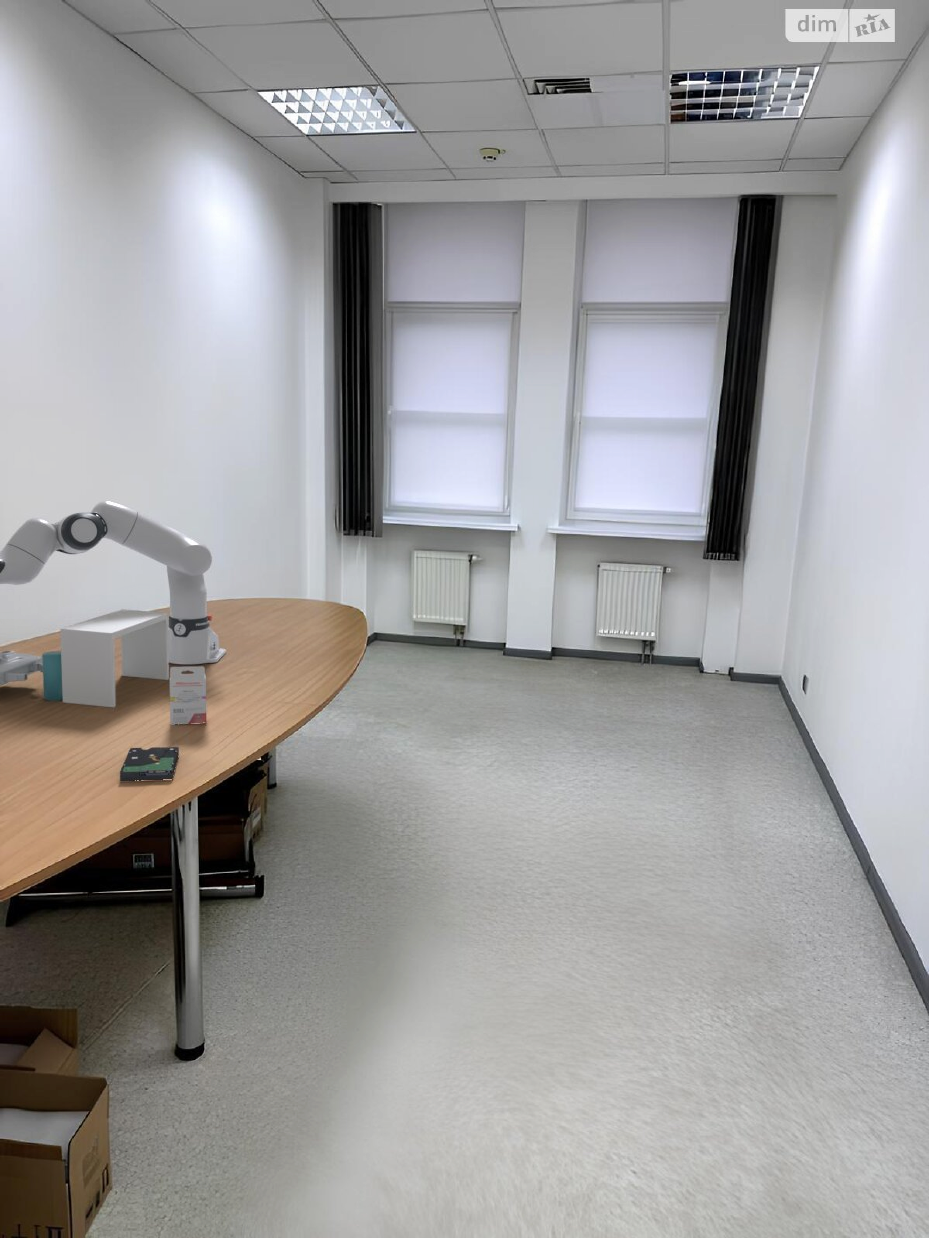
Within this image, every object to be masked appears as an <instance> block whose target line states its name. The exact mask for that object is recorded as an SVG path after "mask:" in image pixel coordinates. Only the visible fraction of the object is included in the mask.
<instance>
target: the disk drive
mask: <svg viewBox="0 0 929 1238" xmlns="http://www.w3.org/2000/svg"><path fill="white" fill-rule="evenodd" d="M179 748H180V747H179V746H169V747H168V746H166V747H165V746H164V747H162V746H161V747H160V746H159V747H158V746H157V747H155V746H154V747H149V748H148V749H144V748H142V747H130V749H129V750H128V753H127V755H126V757H125V760H124V762H123V764H122V766H121V768H120V771H119V782H120V781H135V780H136V781H137V780H139V781H141V780H163V779H172V778H173V779H174V777H173V775H174V776H175V772H174V770H175V771H176V768H177V764H178V761H177V760H179V757H178V756H179V755H180V749H179ZM176 763H177V764H176ZM175 767H176V768H175ZM173 779H172V780H173ZM141 782H142V781H141Z"/></svg>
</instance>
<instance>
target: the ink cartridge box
mask: <svg viewBox="0 0 929 1238" xmlns="http://www.w3.org/2000/svg"><path fill="white" fill-rule="evenodd" d="M187 671H189V672H192V673H182V672H187ZM205 671H206V668H205V666H171V667H169V673H170V674H169V712H170V713H169V717H170V720H169V721H170V725H171V726H176V725H175V724H178V725H177V726H180V725H179V724H190V725H192V724H191V723H203V722H206V723H207V677H206V675H207V674H206V672H205Z"/></svg>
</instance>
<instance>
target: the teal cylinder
mask: <svg viewBox="0 0 929 1238" xmlns="http://www.w3.org/2000/svg"><path fill="white" fill-rule="evenodd" d="M41 656H42V657H41V658H42V664H43V672H42V687H43V700H44V701H48V702H49V701H50V702H57V701H63V694H62V663H61V650H57V651H55V650H54V651H47V652H43V653H42V654H41Z"/></svg>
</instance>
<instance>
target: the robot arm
mask: <svg viewBox="0 0 929 1238" xmlns="http://www.w3.org/2000/svg"><path fill="white" fill-rule="evenodd" d="M102 539H108V540H110V541H112V542H115V543H117V544H119V545H122V546H124V547H126V548H128V549H130V550H132V551H134V552H136V553H139V554H142V555H144V556H146V557H148V558H149V559H151V560H154V561H156V562H158V563H159V564H163V565H165V566H166V573H167V579H168V587H169V614H170V615H168V640H169V664H174V665H200V664H201V665H202V664H208V663H210V664H211V663H218V661H219V660H220V659H221V658H222V657H224V655H226V653H227V650H226V649H225V648H221V647H220V646H219V645H220V643H219V635H218V634H216V632H214V630H213V629H212V628H211V627H210V622H211V621H212V620H213V615H212V614H207V613H208V612H207V607H208V606H207V602H208V601H207V594H208V593H207V588H206V584H205V577H204V574H205V573H207V571H209V570H210V568H211V566H212V561H213V557H212V553H211V551H210V549H209V547H208V546H207V545H206V544H205V543H203V542H201V541H200V540H197V539H196V538H194V537H191V536H189V535H187V534H185V533H183V532H181V531H179V530H177V529H175V528H173V527H171V526H168V525H166V524H164V523H162V522H160V521H158V520H156V519H153V518H152V517H150V516H147V515H145V514H143V513H141V512H140V511H137V510H135V509H133V508H130V507H128V506H125V505H122V504H120V503H116V502H114V501H110V500H103V501H100V502H98V503H97V504H95V506H94V507H93V508H92V510H91V511H90V512H76V513H72V514H69V515H67V516H65V517H63V518H62V519H60V520H59V521H57V522H56V523H50V522H49V521H47V520H46V519H42V518H36V517H35V518H34V517H32V518H29V519H27V520H26V521H25V522H24V523H23V524H22V525H21V526H20V527H19V528H18V529H17V530H16V532H15V533H13V535H12V536H11V537H10V538H9V540H8V541H7V542H6V544H5V546H4V547H3V548H2V549H1V551H0V585H3V584H4V585H6V584H7V585H14V586H15V585H16V586H18V585H20V586H21V585H25V584H28V583H31V582H32V581H34V580H35V579H36V578H37V577H38V576H39V574H40V573H41V572H42V570H43V569H44V567H45V565H46V564H47V562H48V560H49V558H50V557H51V556H52V555H53V554H54V553H55V552H56V551H57V552H60V553H62V554H67V555H78V554H82V553H86V552H88V551H89V550H91V549H93V548H94V547H96V546H97V545H98V544H99V543H100V542H101V541H102ZM37 672H40V673H43V664H42V657H41V656H39V655H35V654H27V653H17V652H15V651H14V650H4V651H0V686H3V685H5V684H8V683H12V682H13V683H14V682H24V681H27V680H28V676H29V675H31V674H34V673H37Z"/></svg>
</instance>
